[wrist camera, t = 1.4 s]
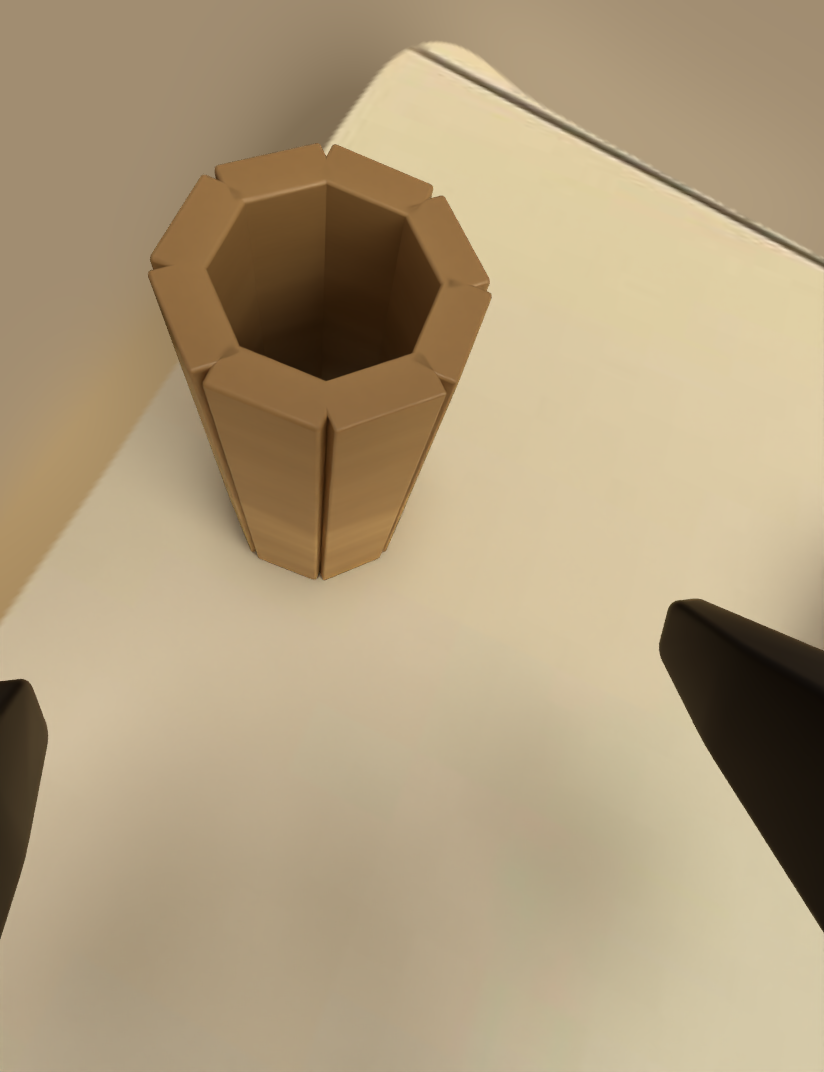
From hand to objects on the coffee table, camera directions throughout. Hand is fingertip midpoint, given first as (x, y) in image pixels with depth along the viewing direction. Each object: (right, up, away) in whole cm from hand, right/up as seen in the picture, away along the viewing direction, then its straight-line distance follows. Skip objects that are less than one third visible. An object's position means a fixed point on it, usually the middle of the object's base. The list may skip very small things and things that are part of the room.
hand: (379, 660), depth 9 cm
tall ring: (-3, +3, +14) cm, 15 cm away
